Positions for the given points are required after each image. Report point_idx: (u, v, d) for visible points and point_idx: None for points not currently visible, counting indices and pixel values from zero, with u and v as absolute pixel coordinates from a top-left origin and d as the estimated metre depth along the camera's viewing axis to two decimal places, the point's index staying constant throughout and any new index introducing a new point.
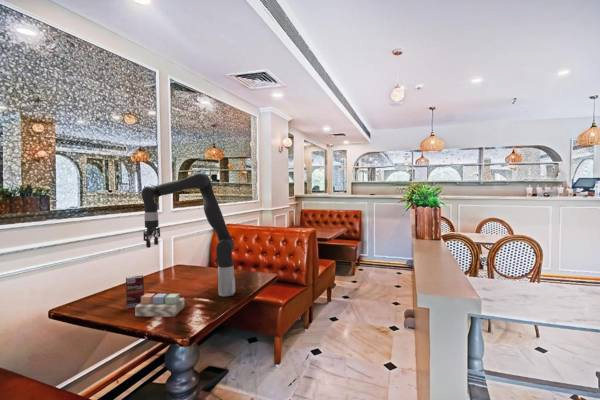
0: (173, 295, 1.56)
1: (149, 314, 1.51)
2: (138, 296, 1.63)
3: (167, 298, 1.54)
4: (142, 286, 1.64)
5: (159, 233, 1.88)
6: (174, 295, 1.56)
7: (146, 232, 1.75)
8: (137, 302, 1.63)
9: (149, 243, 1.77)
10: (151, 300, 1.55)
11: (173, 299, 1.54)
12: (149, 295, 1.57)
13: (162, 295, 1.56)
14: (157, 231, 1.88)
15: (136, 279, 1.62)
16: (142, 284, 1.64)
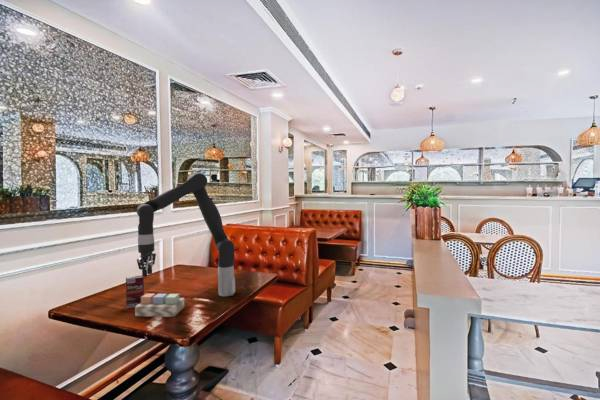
0: (173, 295, 1.56)
1: (149, 314, 1.51)
2: (138, 296, 1.63)
3: (167, 298, 1.54)
4: (142, 286, 1.64)
5: (154, 260, 1.61)
6: (174, 295, 1.56)
7: (140, 261, 1.49)
8: (137, 302, 1.63)
9: (145, 272, 1.53)
10: (151, 300, 1.55)
11: (173, 299, 1.54)
12: (149, 295, 1.57)
13: (162, 295, 1.56)
14: None
15: (136, 279, 1.62)
16: (142, 284, 1.64)
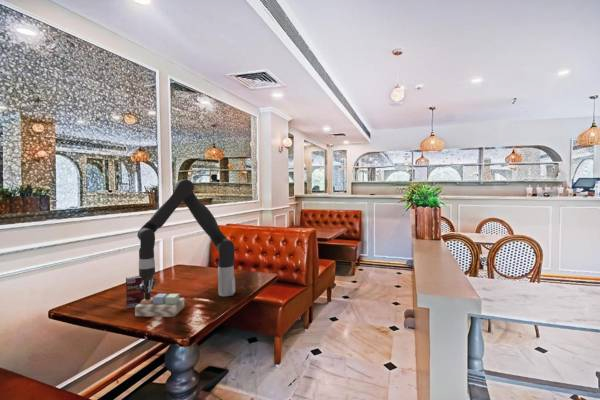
0: (173, 295, 1.56)
1: (149, 314, 1.51)
2: (138, 296, 1.63)
3: (167, 298, 1.54)
4: None
5: (153, 285, 1.60)
6: (174, 295, 1.56)
7: (142, 287, 1.51)
8: (137, 302, 1.63)
9: (148, 295, 1.56)
10: None
11: (173, 299, 1.54)
12: (149, 299, 1.57)
13: (162, 295, 1.56)
14: (152, 282, 1.61)
15: (136, 279, 1.62)
16: None
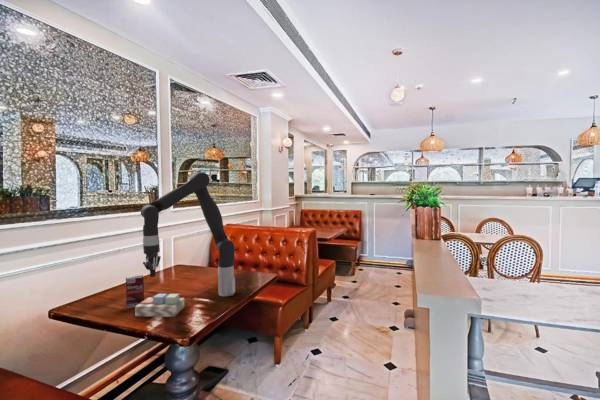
0: (173, 295, 1.56)
1: (149, 314, 1.51)
2: (138, 296, 1.63)
3: (167, 298, 1.54)
4: (142, 286, 1.64)
5: (158, 262, 1.60)
6: (174, 295, 1.56)
7: (147, 264, 1.50)
8: (137, 302, 1.63)
9: (153, 272, 1.56)
10: None
11: (173, 299, 1.54)
12: (149, 300, 1.57)
13: (162, 295, 1.56)
14: (156, 260, 1.60)
15: (136, 279, 1.62)
16: (142, 284, 1.64)
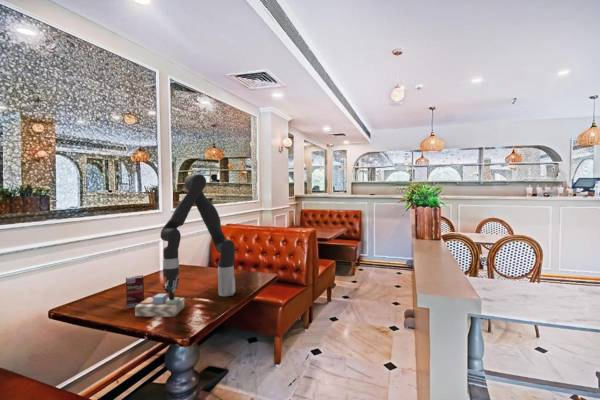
0: (173, 299, 1.56)
1: (149, 314, 1.51)
2: (138, 296, 1.63)
3: (167, 301, 1.54)
4: (142, 286, 1.64)
5: (177, 285, 1.59)
6: (174, 299, 1.56)
7: (167, 287, 1.50)
8: (137, 302, 1.63)
9: (172, 295, 1.55)
10: None
11: (173, 303, 1.54)
12: (149, 300, 1.57)
13: (162, 295, 1.56)
14: (175, 282, 1.60)
15: (136, 279, 1.62)
16: (142, 284, 1.64)
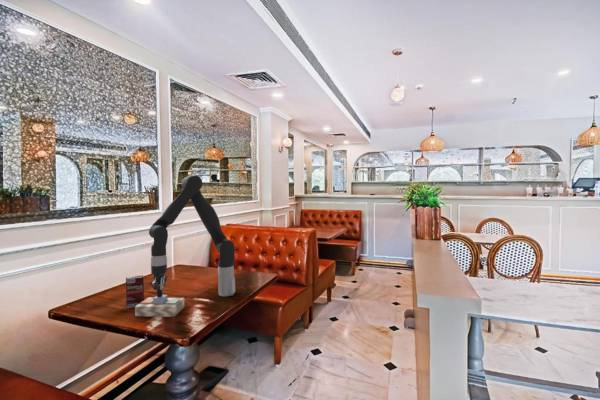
0: (173, 300, 1.56)
1: (149, 314, 1.51)
2: (138, 296, 1.63)
3: (167, 303, 1.54)
4: (142, 286, 1.64)
5: (165, 282, 1.60)
6: (174, 300, 1.56)
7: (154, 284, 1.50)
8: (137, 302, 1.63)
9: (160, 292, 1.55)
10: None
11: None
12: (149, 300, 1.57)
13: (162, 296, 1.56)
14: (163, 279, 1.60)
15: (136, 279, 1.62)
16: (142, 284, 1.64)
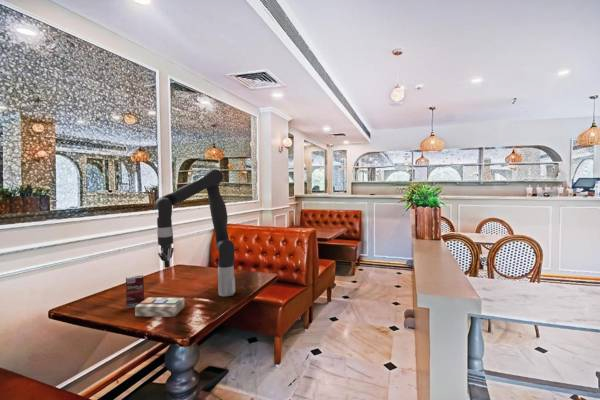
0: (173, 300, 1.56)
1: (149, 314, 1.51)
2: (138, 296, 1.63)
3: (167, 303, 1.54)
4: (142, 286, 1.64)
5: (171, 254, 1.63)
6: (174, 300, 1.56)
7: (162, 255, 1.54)
8: (137, 302, 1.63)
9: (168, 263, 1.59)
10: None
11: None
12: (149, 300, 1.57)
13: (162, 300, 1.56)
14: None
15: (136, 279, 1.62)
16: (142, 284, 1.64)
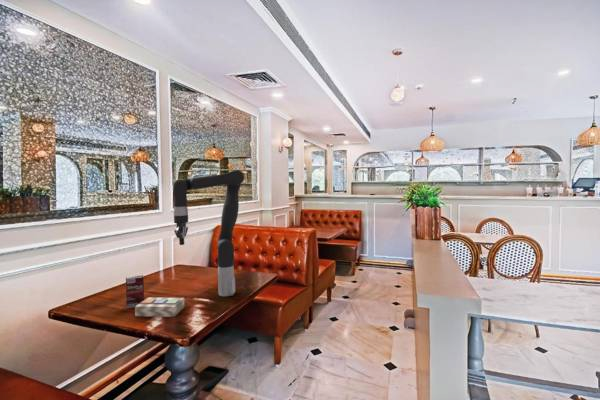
0: (173, 300, 1.56)
1: (149, 314, 1.51)
2: (138, 296, 1.63)
3: (167, 303, 1.54)
4: (142, 286, 1.64)
5: (186, 232, 1.74)
6: (174, 300, 1.56)
7: (177, 232, 1.65)
8: (137, 302, 1.63)
9: (182, 240, 1.70)
10: None
11: None
12: (149, 300, 1.57)
13: (162, 300, 1.56)
14: None
15: (136, 279, 1.62)
16: (142, 284, 1.64)
